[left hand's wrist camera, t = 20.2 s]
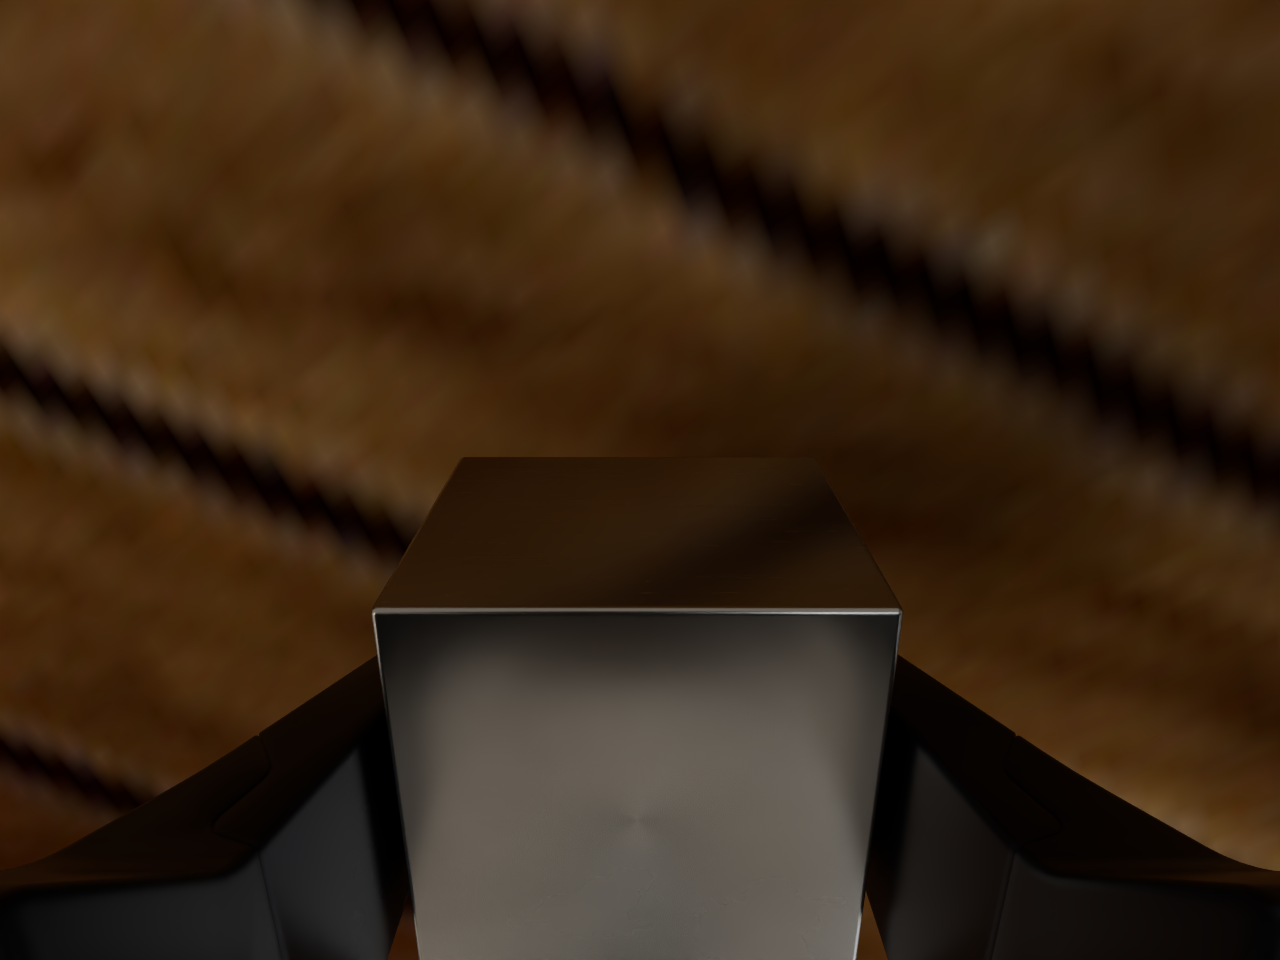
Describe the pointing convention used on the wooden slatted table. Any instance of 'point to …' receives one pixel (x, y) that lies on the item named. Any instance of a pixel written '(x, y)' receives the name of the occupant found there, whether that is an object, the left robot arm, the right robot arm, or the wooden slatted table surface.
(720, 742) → the grey metal block
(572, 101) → the wooden slatted table surface
